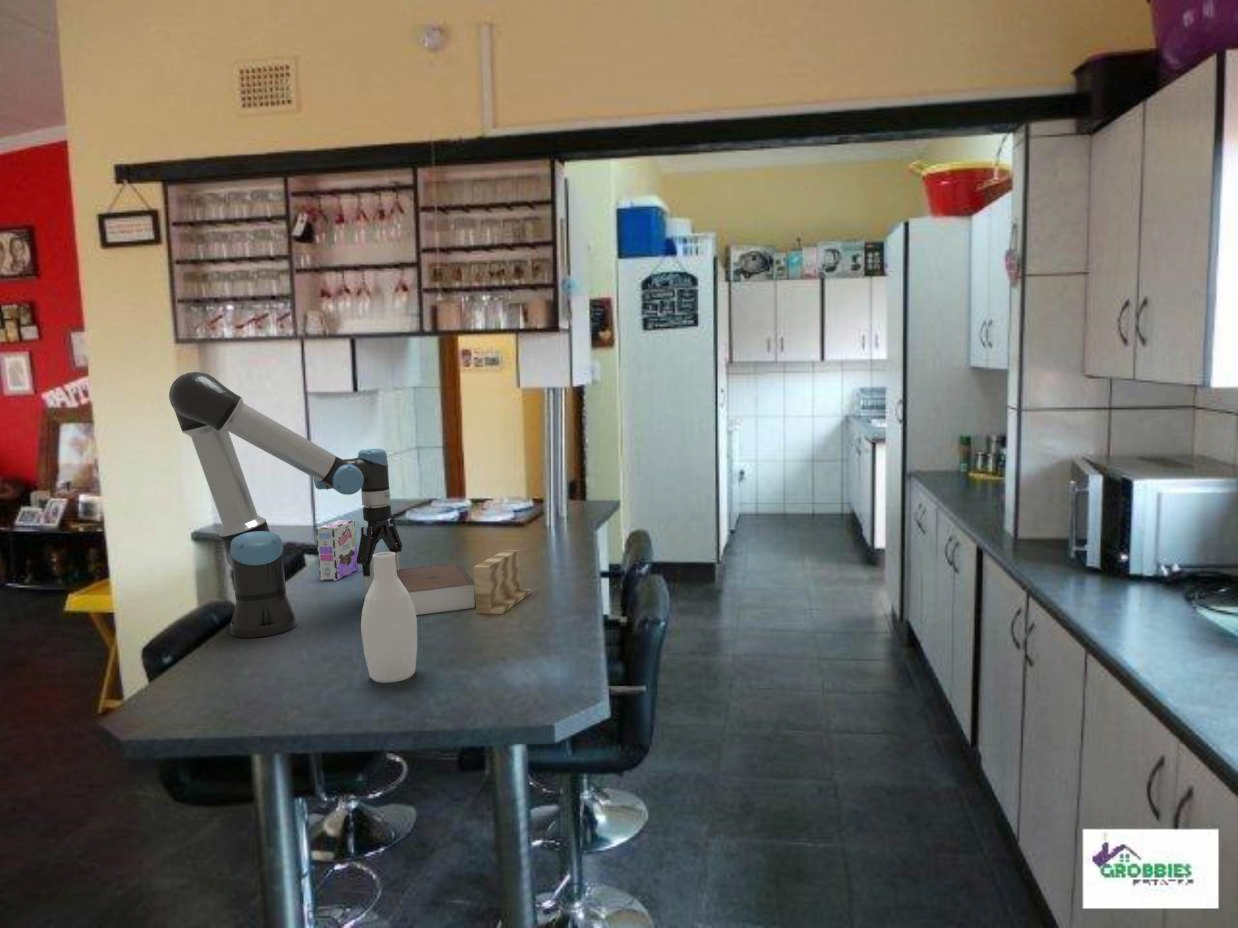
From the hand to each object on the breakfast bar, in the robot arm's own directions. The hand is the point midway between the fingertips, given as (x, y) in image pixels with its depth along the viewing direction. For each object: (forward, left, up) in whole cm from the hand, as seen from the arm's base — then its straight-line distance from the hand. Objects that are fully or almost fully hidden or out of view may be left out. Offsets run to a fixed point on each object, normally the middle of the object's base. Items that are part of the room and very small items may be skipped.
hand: (382, 581), depth 247 cm
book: (-2, -13, -5) cm, 15 cm away
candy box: (+21, +27, -5) cm, 35 cm away
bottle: (-57, -36, -5) cm, 68 cm away
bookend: (-2, -37, -4) cm, 37 cm away
